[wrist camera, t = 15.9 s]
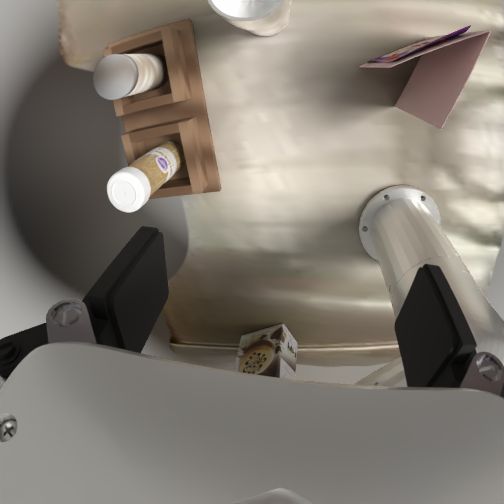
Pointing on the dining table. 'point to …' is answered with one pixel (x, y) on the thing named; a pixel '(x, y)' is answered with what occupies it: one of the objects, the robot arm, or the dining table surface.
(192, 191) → the condiment rack
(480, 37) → the greeting card
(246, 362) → the coffee box
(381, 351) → the dining table surface
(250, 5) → the silver metal can
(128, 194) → the sprinkles bottle
